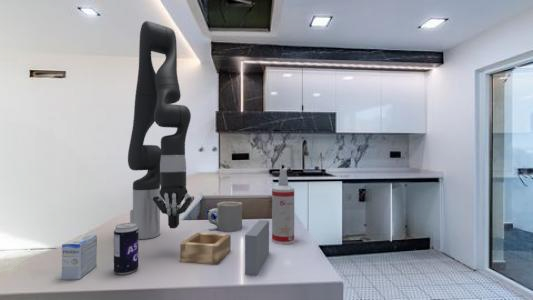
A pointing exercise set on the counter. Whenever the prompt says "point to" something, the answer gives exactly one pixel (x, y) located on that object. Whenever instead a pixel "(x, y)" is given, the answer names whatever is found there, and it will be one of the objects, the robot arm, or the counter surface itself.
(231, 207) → the coffee mug
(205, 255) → the wooden box
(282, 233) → the spray bottle
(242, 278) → the counter surface
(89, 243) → the medicine box
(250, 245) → the wall
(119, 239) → the beverage can
